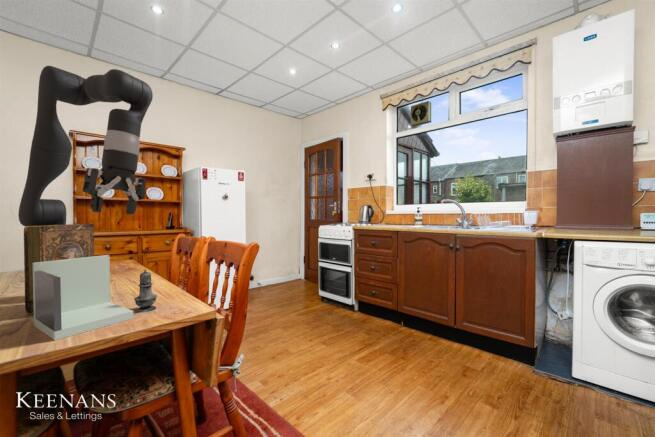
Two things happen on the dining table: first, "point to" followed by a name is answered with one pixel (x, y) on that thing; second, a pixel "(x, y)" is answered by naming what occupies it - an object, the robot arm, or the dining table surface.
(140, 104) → the robot arm
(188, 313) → the dining table surface
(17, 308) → the dining table surface
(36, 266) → the shelf
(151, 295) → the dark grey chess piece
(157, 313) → the dining table surface
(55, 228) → the book
